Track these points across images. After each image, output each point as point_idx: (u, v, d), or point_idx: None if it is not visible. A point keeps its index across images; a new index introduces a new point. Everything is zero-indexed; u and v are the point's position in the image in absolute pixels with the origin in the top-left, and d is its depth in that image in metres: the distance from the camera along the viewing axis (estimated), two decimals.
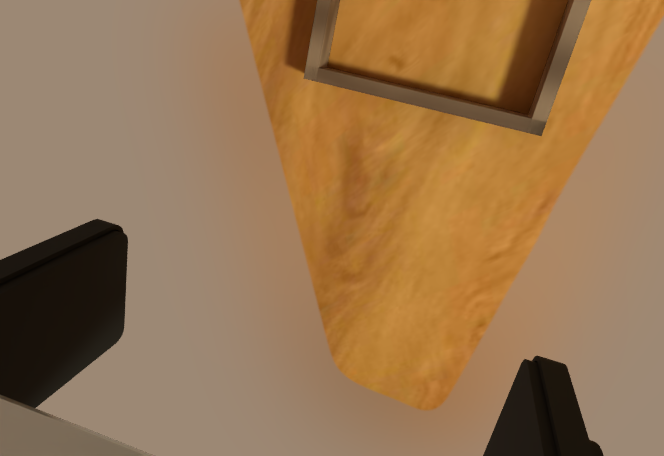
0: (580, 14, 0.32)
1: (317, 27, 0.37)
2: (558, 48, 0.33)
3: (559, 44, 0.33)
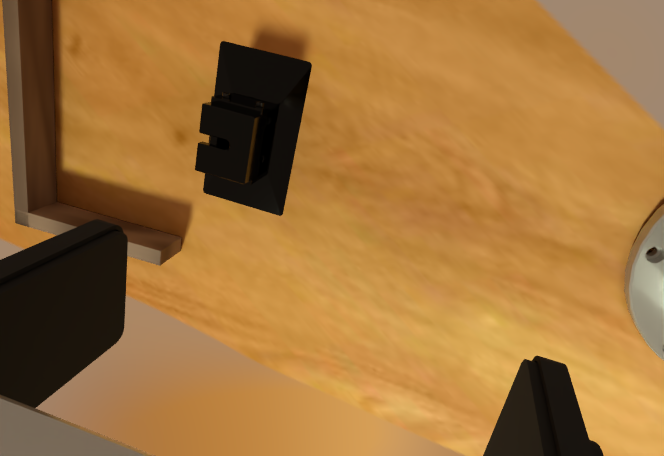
0: None
1: None
2: None
3: None
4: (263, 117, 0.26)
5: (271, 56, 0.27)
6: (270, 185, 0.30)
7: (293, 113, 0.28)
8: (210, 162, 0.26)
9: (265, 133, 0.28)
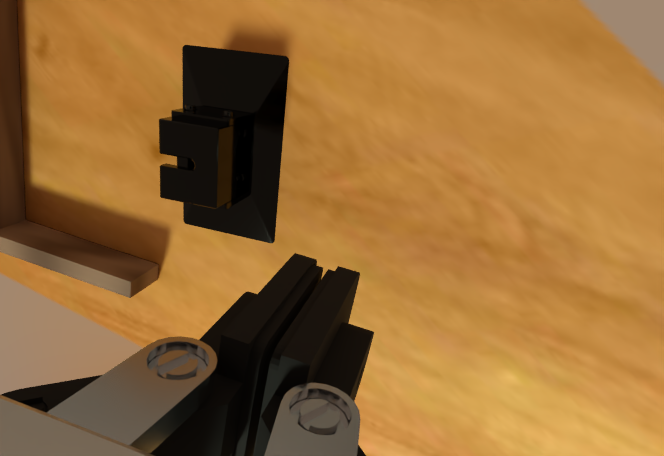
0: (91, 279, 0.27)
1: None
2: (57, 258, 0.28)
3: (61, 259, 0.28)
4: (232, 128, 0.22)
5: (240, 58, 0.24)
6: (255, 207, 0.26)
7: (272, 121, 0.24)
8: (176, 186, 0.22)
9: (242, 148, 0.24)
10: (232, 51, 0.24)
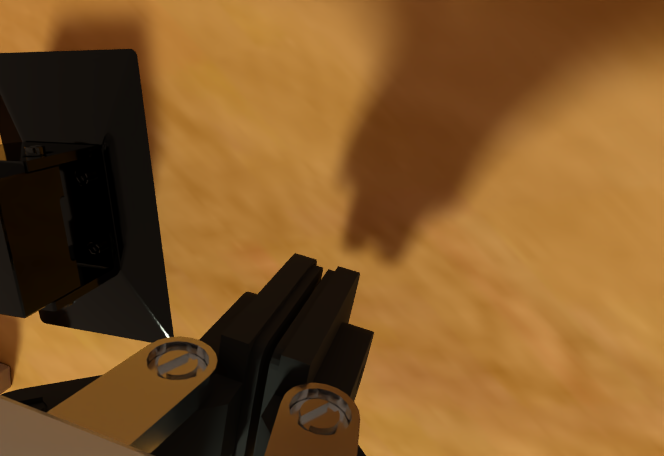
0: None
1: None
2: None
3: None
4: (40, 175, 0.13)
5: (66, 58, 0.14)
6: (133, 291, 0.16)
7: (131, 154, 0.15)
8: None
9: (91, 202, 0.15)
10: None
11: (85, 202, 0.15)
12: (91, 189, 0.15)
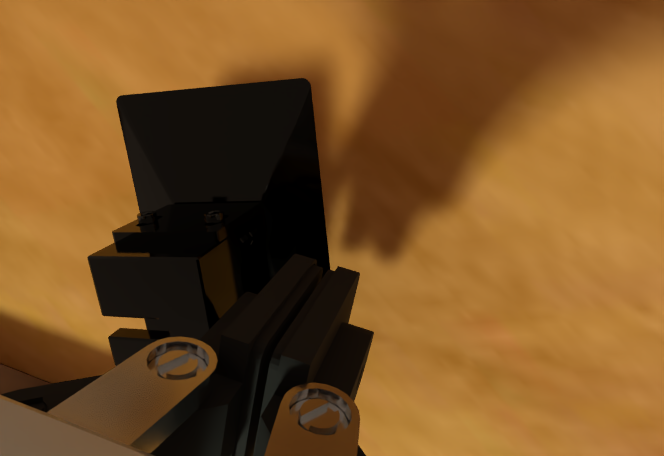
0: None
1: None
2: None
3: None
4: (227, 244, 0.12)
5: (221, 112, 0.14)
6: None
7: (295, 208, 0.14)
8: None
9: (252, 262, 0.14)
10: (205, 103, 0.14)
11: (246, 263, 0.14)
12: (254, 249, 0.14)
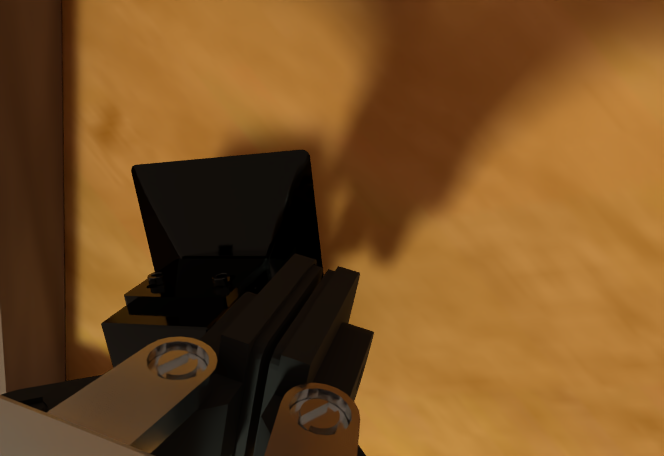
0: None
1: None
2: None
3: None
4: None
5: (226, 172, 0.14)
6: None
7: None
8: None
9: None
10: (211, 163, 0.14)
11: None
12: None
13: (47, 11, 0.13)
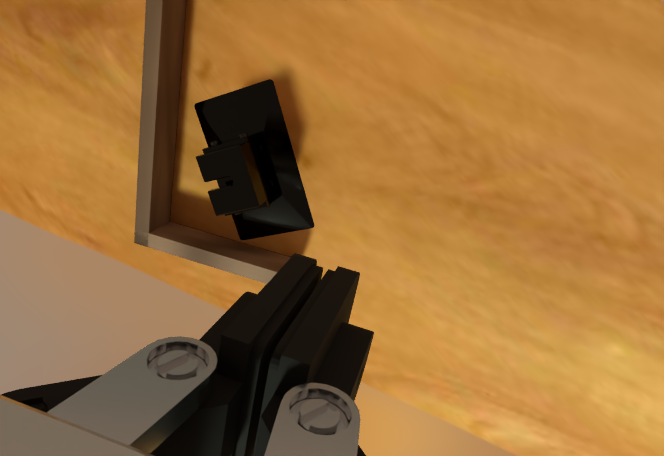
0: (246, 272, 0.31)
1: None
2: (214, 254, 0.31)
3: (218, 255, 0.31)
4: (250, 143, 0.28)
5: (238, 95, 0.30)
6: (290, 203, 0.31)
7: (277, 131, 0.30)
8: (224, 202, 0.28)
9: (263, 160, 0.31)
10: (230, 93, 0.30)
11: (260, 161, 0.31)
12: (262, 153, 0.30)
13: (181, 14, 0.29)
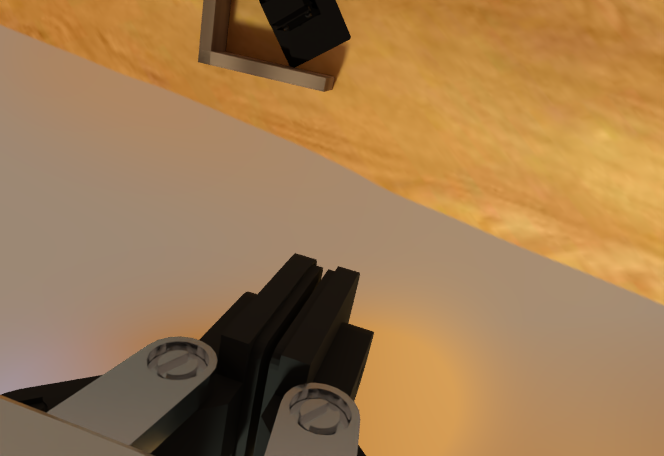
0: (293, 80, 0.37)
1: None
2: (267, 65, 0.38)
3: (270, 66, 0.38)
4: None
5: None
6: (328, 20, 0.38)
7: None
8: (275, 10, 0.35)
9: None
10: None
11: None
12: None
13: None
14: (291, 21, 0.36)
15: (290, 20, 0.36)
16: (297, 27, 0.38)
